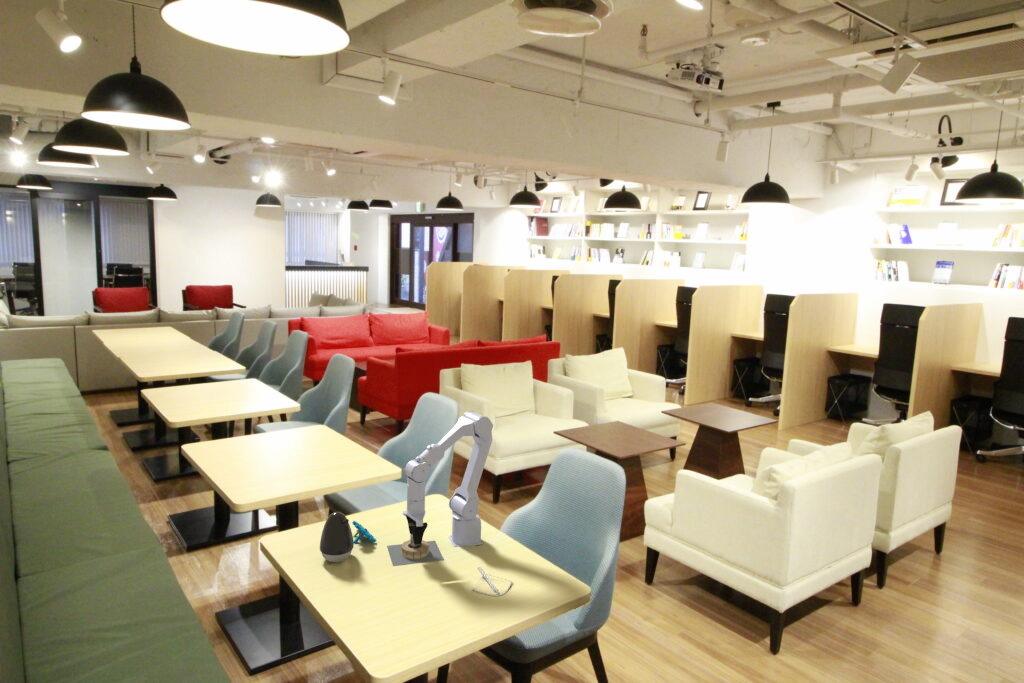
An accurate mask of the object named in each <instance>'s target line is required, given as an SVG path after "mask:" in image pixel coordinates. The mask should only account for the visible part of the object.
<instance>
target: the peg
mask: <svg viewBox="0 0 1024 683" xmlns="http://www.w3.org/2000/svg"><path fill="white" fill-rule="evenodd" d="M409 536H410V538H409V540H410V548H413V549H416V548H420V544H417V545H415V544H414V541H413V535H412V534H410V535H409Z"/></svg>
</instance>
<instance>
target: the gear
mask: <svg viewBox="0 0 1024 683" xmlns="http://www.w3.org/2000/svg"><path fill="white" fill-rule="evenodd" d="M352 525H353V526H354V527H355V528H356V533H354V535H352V536H353V538H355V537H356V538H355V539H353V543H354V544H357V543H358V542H359V541H360V539H361V538H364V537H365V538H367V539H369V541H371V542H373V543H376V542H377V540H376V538H375V537H374V535H373V534H372V533H370V532H369V530H368V529H367V528H365V527H364V526H363V525H362V524H361V523H359V522H357V521H356V520H353V521H352Z"/></svg>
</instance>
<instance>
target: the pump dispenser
mask: <svg viewBox="0 0 1024 683" xmlns="http://www.w3.org/2000/svg"><path fill="white" fill-rule="evenodd" d="M353 536H354V535H353V532H352V528H351V524H350V521H349V519H348V518H347V516H346V515H345V514H344V513H343V512H341V511H334V512H332V513H331V514H329V515H328V517H327V519H326V521H325V523H324V526H323V529H322V532H321V536H320V542H319V551H320V552H321V556H322V557H323V558H324V559H325V560H326V561H327V562H329V563H340V562H343V561H345V560H347V559H348V558H349V557H350V556H351V554H352V551H353V549H354V544H355V543H353V542H354V537H353Z"/></svg>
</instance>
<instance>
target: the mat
mask: <svg viewBox="0 0 1024 683" xmlns="http://www.w3.org/2000/svg"><path fill="white" fill-rule="evenodd" d="M426 542H427V543H428V545H429V553H428V555H427V556H425V557H423V558H420V559H408V558H405V557H403V556H402V554H401V545H402V544H403V543H401V544H391V545H386V549H387V551H388V554H389V557H390V561H391V563H392V564H391V565H392V567H397V566H406V565H414V564H422V563H431V562H438V561H445V559H444V556H443V554H442V552H441V550H440V547H439V546H438V544H437V541H436V540H429V541H426Z"/></svg>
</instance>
